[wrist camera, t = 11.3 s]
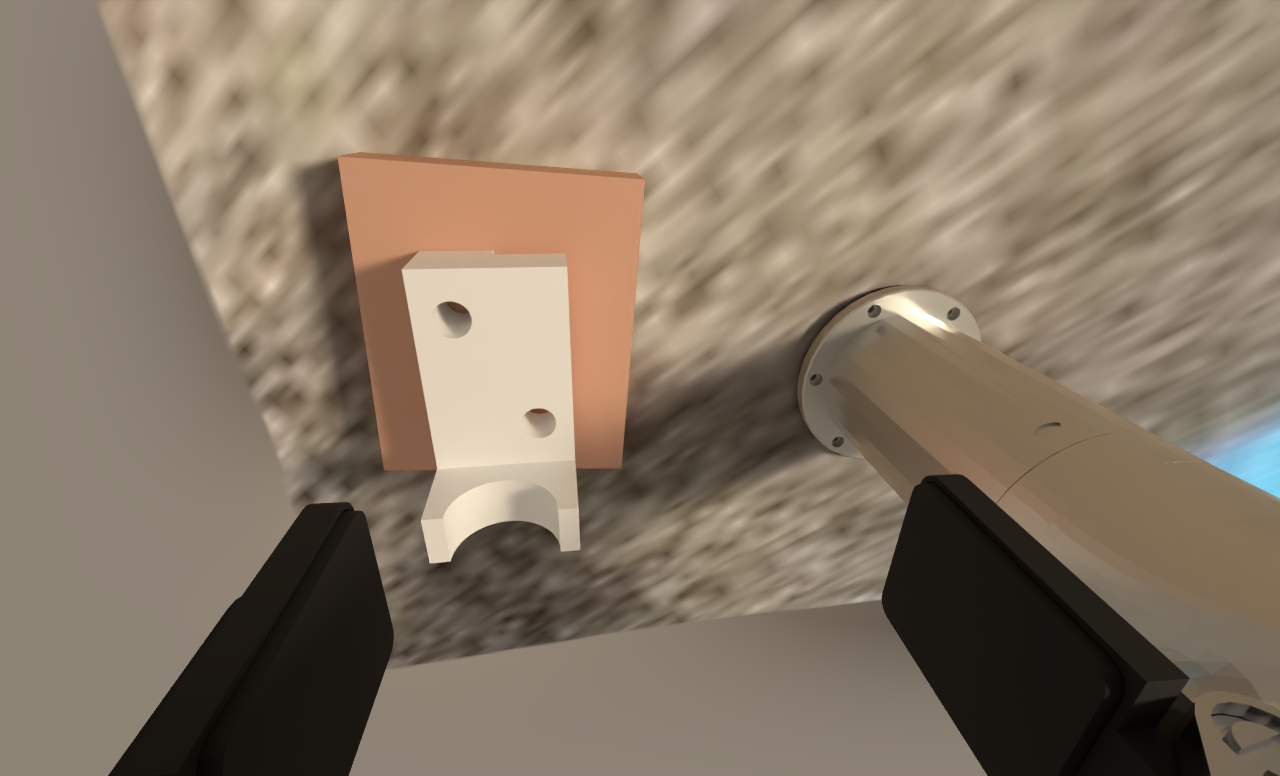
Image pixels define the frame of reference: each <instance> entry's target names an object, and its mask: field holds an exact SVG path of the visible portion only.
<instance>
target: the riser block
mask: <svg viewBox="0 0 1280 776" xmlns="http://www.w3.org/2000/svg"><path fill="white" fill-rule="evenodd" d="M338 163H339V170H340V176H341V183H342V190H343V197H344V203H345V210H346V217H347V224H348V230H349V237H350V244H351V251H352V258H353V264H354V271H355V278H356V285H357V291H358V298H359V305H360V312H361V318H362V325H363V332H364V339H365V345H366V352H367V359H368V366H369V372H370V379H371V386H372V393H373V400H374V406H375V413H376V420H377V427H378V433H379V440H380V447H381V454H382V460H383V467H384V471H404V470H437V464H436V459H435V453H434V448H433V442H432V437H431V431H430V425H429V420H428V414H427V409H426V403H425V397H424V392H423V386H422V381H421V375H420V369H419V364H418V358H417V353H416V347H415V341H414V336H413V330H412V325H411V319H410V314H409V308H408V302H407V297H406V291H405V286H404V280H403V274H402V269H403V268H404V266H405V265H406V264H407V263H408V262H409V261H410V260H411V259H412V258H413V257H414V256H415V255H416V254H417V253H418V252H419V251H470V250H494V254H566V260H567V273H568V297H569V322H570V346H571V370H572V394H573V418H574V442H575V464H576V469H602V468H622V456H623V444H624V432H625V419H626V407H627V395H628V382H629V370H630V358H631V345H632V333H633V321H634V308H635V296H636V284H637V272H638V259H639V247H640V235H641V222H642V210H643V198H644V185H645V179H644V178H642V177H641V176H639V175H638V174H637V173H625V172H612V171H599V170H586V169H573V168H560V167H547V166H534V165H521V164H508V163H495V162H482V161H469V160H456V159H443V158H430V157H417V156H404V155H391V154H378V153H365V152H358V153H353V154H348V155H342V156H338ZM446 303H447V304H448V306H449V307H450V308H451V309H452V310H454V311H456V312H458V313H463V314H466V313H469V311H468V310H467V309H466V308H465V307H464V306H463V305H461V304H459V303H456V302H451V301H448V302H446ZM529 411H531V412H533V413H536V414H543V413H547V412H549V411H548V410H546V409H542V408H536V409H532V410H529Z"/></svg>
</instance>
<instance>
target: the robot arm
mask: <svg viewBox="0 0 1280 776" xmlns="http://www.w3.org/2000/svg"><path fill="white" fill-rule="evenodd" d="M797 397H798V404H799V410H800V412H801V415H802V418H803V420H804V422H805V424H806V425H807V427H808V428H809V429H810V431H811V432H812V434H813V435H814V436H815V437H816V438H817V439H818V440H819V441H820V442H821V444H823V445H824V446H825V447H827V448H828V449H830V450H831V451H833V452H836V453H838V454H841V455H843V456H846V457H852V458H858V459H866V460H867V461H868V462H869V463H870V464H871V465H872V466H873V467H874V469H875V470H876V471H877V472H878V473H879V474H880V475H881V476H882V477H883V478H884V480H885V481H886V482H887V483H888V484H889V485H890V486H891V487H892V488H893V490H894V491H895V492H896V493H897V494H898V495H899V496H900V497H901V498H902V500H903V501H904V502H905V503H906V504H907V505H908V508H907V511H906V514H905V518H904V521H903V525H902V528H901V532H900V535H899V538H898V542H897V545H896V549H895V552H894V555H893V559H892V562H891V566H890V569H889V572H888V576H887V579H886V583H885V586H884V590H883V593H882V605H883V609H884V612H885V614H886V616H887V618H888V619H889V621H890V623H891V624H892V625H893V627H894V629H895V630H896V632H897V634H898V635H899V637H900V638H901V640H902V641H903V643H904V644H905V646H906V648H907V649H908V651H909V653H910V654H911V656H912V657H913V659H914V660H915V662H916V663H917V665H918V667H919V668H920V670H921V671H922V673H923V675H924V676H925V678H926V679H927V681H928V682H929V684H930V686H931V687H932V688H933V690H934V692H935V694H936V695H937V697H938V698H939V700H940V701H941V703H942V705H943V706H944V708H945V709H946V711H947V712H948V714H949V716H950V717H951V718H952V720H953V722H954V723H955V725H956V726H957V728H958V730H959V731H960V733H961V734H962V736H963V738H964V739H965V741H966V742H967V744H968V745H969V747H970V749H971V750H972V752H973V753H974V755H975V756H976V758H977V760H978V761H979V763H980V764H981V766H982V768H983V769H984V771H985V772H986V774H987V776H1280V498H1278V497H1276V496H1274V495H1272V494H1270V493H1268V492H1266V491H1264V490H1262V489H1260V488H1258V487H1256V486H1254V485H1252V484H1250V483H1248V482H1246V481H1244V480H1242V479H1240V478H1238V477H1236V476H1234V475H1232V474H1230V473H1228V472H1226V471H1224V470H1221V469H1219V468H1218V467H1216V466H1214V465H1212V464H1210V463H1208V462H1206V461H1204V460H1202V459H1200V458H1198V457H1197V456H1195V455H1193V454H1191V453H1189V452H1187V451H1185V450H1183V449H1181V448H1179V447H1178V446H1176V445H1174V444H1172V443H1170V442H1168V441H1166V440H1164V439H1163V438H1161V437H1158V436H1156V435H1155V434H1153V433H1151V432H1149V431H1147V430H1145V429H1143V428H1141V427H1140V426H1138V425H1136V424H1134V423H1132V422H1130V421H1128V420H1126V419H1125V418H1123V417H1121V416H1119V415H1117V414H1115V413H1113V412H1111V411H1110V410H1108V409H1106V408H1104V407H1102V406H1100V405H1098V404H1096V403H1095V402H1093V401H1091V400H1089V399H1087V398H1085V397H1083V396H1081V395H1080V394H1078V393H1076V392H1074V391H1072V390H1070V389H1068V388H1066V387H1065V386H1063V385H1061V384H1059V383H1057V382H1055V381H1053V380H1051V379H1050V378H1048V377H1046V376H1044V375H1042V374H1040V373H1038V372H1036V371H1034V370H1033V369H1031V368H1030V367H1028V366H1025V365H1023V364H1021V363H1019V362H1018V361H1016V360H1014V359H1012V358H1010V357H1008V356H1006V355H1004V354H1003V353H1001V352H999V351H997V350H995V349H993V348H991V347H989V346H988V345H986V344H984V343H982V342H981V336H980V331H979V328H978V326H977V324H976V321H975V319H974V317H973V316H972V314H971V313H970V312H969V311H968V309H967V308H966V307H965V306H964V305H963V304H961V303H960V302H959V301H957V300H956V299H955V298H953V297H952V296H950V295H947V294H945V293H943V292H941V291H939V290H936V289H932V288H928V287H925V286H917V285H901V286H895V287H889V288H885V289H882V290H879V291H876V292H873V293H870V294H868V295H866V296H864V297H862V298H860V299H858V300H857V301H855V302H853V303H851V304H850V305H848V306H847V307H846V308H844V309H843V310H842V311H841V312H839V313H838V314H837V315H835V316H834V317H833V318H832V319H831V320H830V322H829V323H828V324H827V325H826V326H825V327H824V328H823V329H822V330H821V331H820V333H819V334H818V336H817V337H816V338H815V340H814V341H813V343H812V344H811V346H810V348H809V350H808V352H807V354H806V356H805V358H804V360H803V363H802V367H801V370H800V374H799V378H798V389H797ZM393 639H394V632H393V626H392V622H391V618H390V614H389V610H388V606H387V602H386V598H385V593H384V589H383V585H382V581H381V577H380V573H379V569H378V565H377V561H376V557H375V553H374V549H373V545H372V541H371V536H370V532H369V528H368V524H367V520H366V517H365V514H364V513H363V512H362V511H354V509H353V506H352V505H351V504H350V503H347V502H340V503H319V504H309V505H307V506H306V507H305V508H304V509H303V510H302V512H301V513H300V514H299V516H298V517H297V519H296V520H295V521H294V523H293V524H292V526H291V527H290V529H289V530H288V531H287V533H286V534H285V536H284V537H283V538H282V540H281V541H280V543H279V544H278V545H277V547H276V549H275V550H274V551H273V553H272V554H271V555H270V557H269V558H268V560H267V561H266V563H265V564H264V565H263V567H262V568H261V570H260V571H259V572H258V574H257V575H256V577H255V578H254V579H253V581H252V582H251V584H250V585H249V587H248V588H247V589H246V591H245V592H244V594H243V595H242V596H241V597H240V598H238V599H236V600H235V601H234V603H233V604H232V605H231V606H230V607H229V608H228V609H227V611H226V612H225V613H224V615H223V616H222V618H221V619H220V621H219V622H218V623H217V625H216V626H215V627H214V629H213V630H212V632H211V633H210V634H209V636H208V637H207V639H206V640H205V641H204V643H203V644H202V645H201V647H200V648H199V650H198V651H197V653H196V654H195V655H194V657H193V658H192V660H191V661H190V662H189V664H188V665H187V667H186V668H185V669H184V671H183V672H182V673H181V675H180V676H179V678H178V679H177V680H176V682H175V683H174V685H173V686H172V687H171V689H170V690H169V692H168V693H167V694H166V696H165V697H164V698H163V700H162V701H161V703H160V704H159V706H158V707H157V708H156V710H155V711H154V713H153V714H152V715H151V717H150V718H149V719H148V721H147V722H146V724H145V725H144V726H143V728H142V729H141V731H140V732H139V733H138V735H137V736H136V738H135V739H134V740H133V742H132V743H131V745H130V746H129V747H128V749H127V750H126V751H125V753H124V754H123V756H122V757H121V759H120V760H119V761H118V763H117V764H116V766H115V767H114V768H113V770H112V771H111V772H110V774H109V775H108V776H349V773H350V770H351V767H352V764H353V761H354V758H355V755H356V753H357V750H358V747H359V744H360V741H361V738H362V735H363V732H364V730H365V727H366V724H367V721H368V718H369V715H370V712H371V709H372V707H373V704H374V701H375V698H376V695H377V692H378V689H379V687H380V684H381V681H382V677H383V675H384V672H385V669H386V666H387V663H388V661H389V658H390V655H391V651H392V647H393Z"/></svg>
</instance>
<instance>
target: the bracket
mask: <svg viewBox="0 0 1280 776" xmlns="http://www.w3.org/2000/svg"><path fill="white" fill-rule="evenodd" d="M402 274H403V280H404V286H405V291H406V297H407V302H408V308H409V314H410V319H411V325H412V330H413V336H414V341H415V347H416V353H417V358H418V364H419V369H420V375H421V381H422V386H423V392H424V397H425V403H426V409H427V414H428V420H429V425H430V431H431V437H432V442H433V448H434V453H435V459H436V464H437V471H436V475H435V478H434V481H433V484H432V487H431V490H430V493H429V496H428V500H427V503H426V506H425V509H424V512H423V515H422V518H421V523H422V528H423V533H424V538H425V543H426V548H427V552H428V557H429V562H430V563H440V562H450V561H451V558H452V556H453V553H454V552H455V550H456V548H457V547H458V546H459V545H460V544H461V542H462V541H463V540H465V539H466V538H467V537H468V536H470V535H471V534H473V533H474V532H476V531H478V530H479V529H482V528H484V527H486V526H489V525H492V524H495V523H499V522H505V521H527V522H532V523H535V524H538V525H541V526H543V527H545V528H547V529H548V530H549V531H551V532H552V533H553V534H554V535H555V537H556V538H557V540H558V542H559V544H560V548H561V552H564V551H575V550H580V531H579V507H578V492H577V478H576V464H575V442H574V418H573V394H572V370H571V346H570V322H569V297H568V273H567V260H566V254H494V250H470V251H419V252H418V253H417V254H416V255H415V256H414V257H413V258H412V259H411V260H410V261H409V262H408V263H407V264H406V265H405V266H404V268H403V269H402ZM448 301H451V302H456V303H459V304H461V305H463V306H464V307H465V308H466V309H467V310H468V311H469V313H466V314H463V313H458V312H456V311H454V310H452V309H451V308H450V307H449V306H448V304H447V303H446V302H448ZM536 408H542V409H546V410H548V411H549V412H547V413H543V414H536V413H533V412H531V411H529V410H532V409H536Z"/></svg>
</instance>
